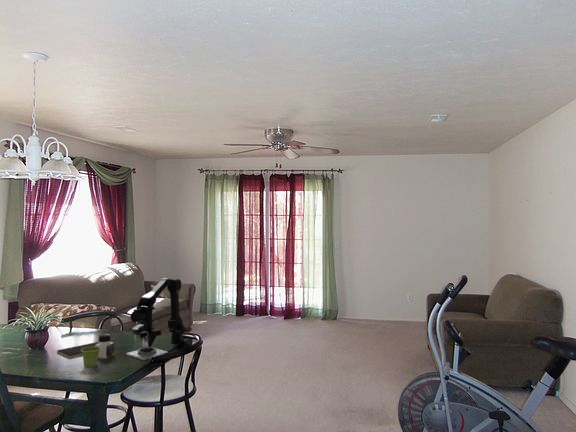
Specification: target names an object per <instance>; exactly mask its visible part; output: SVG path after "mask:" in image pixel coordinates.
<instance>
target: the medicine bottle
mask: <svg viewBox="0 0 576 432" xmlns="http://www.w3.org/2000/svg"><path fill="white" fill-rule="evenodd" d="M98 343H99V344H97V345H95V347H100V348H101V349H100V351H99V354H98V359H108V358H110V357H113V356H114V355H115V344H114V342H113V341H111V334H109V333H105V334H104V333H103V334H101V335H99V336H98Z"/></svg>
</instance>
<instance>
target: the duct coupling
mask: <svg viewBox="0 0 576 432" xmlns="http://www.w3.org/2000/svg"><path fill="white" fill-rule="evenodd" d="M141 343H142V345H141V347H142V352H150V351H152V346H153V345H152V346H151V347H149V341H148V338H147V337H146V336H143V337H142V340H141Z"/></svg>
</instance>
